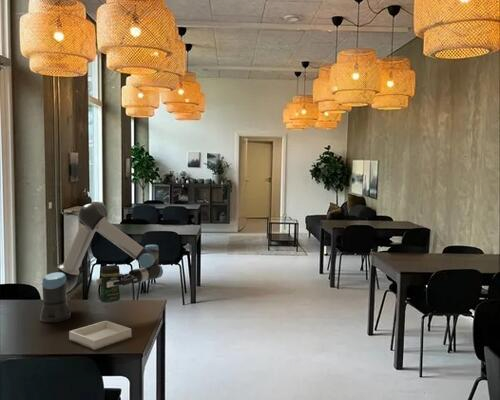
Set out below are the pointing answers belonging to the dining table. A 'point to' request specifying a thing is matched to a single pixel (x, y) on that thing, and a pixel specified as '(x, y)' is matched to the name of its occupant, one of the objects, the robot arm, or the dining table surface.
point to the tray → (100, 334)
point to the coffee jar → (108, 275)
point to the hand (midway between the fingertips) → (102, 283)
